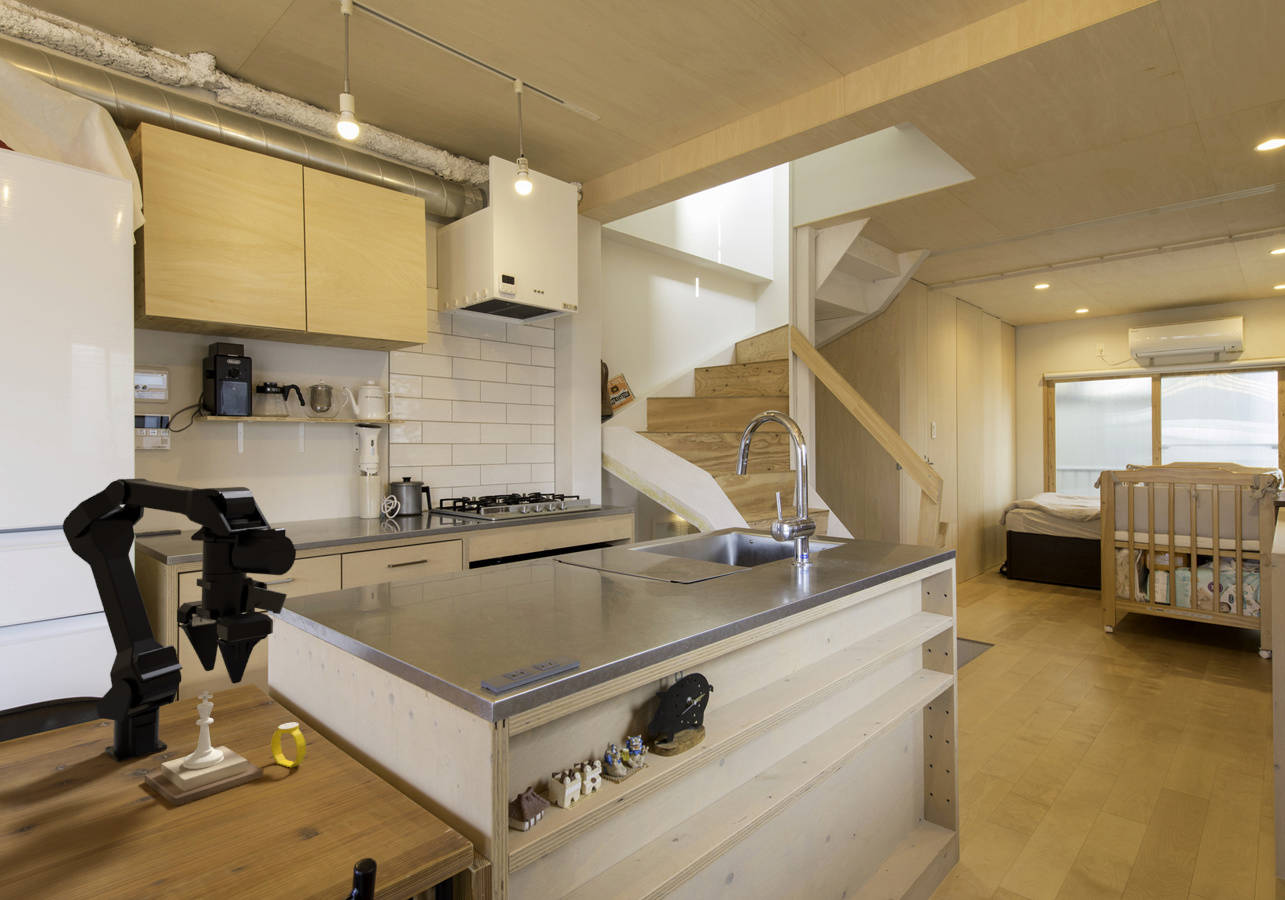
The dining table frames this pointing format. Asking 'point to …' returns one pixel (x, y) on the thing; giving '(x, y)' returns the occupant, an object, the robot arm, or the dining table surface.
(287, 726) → the watch
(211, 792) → the build base
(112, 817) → the dining table surface
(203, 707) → the chess piece
